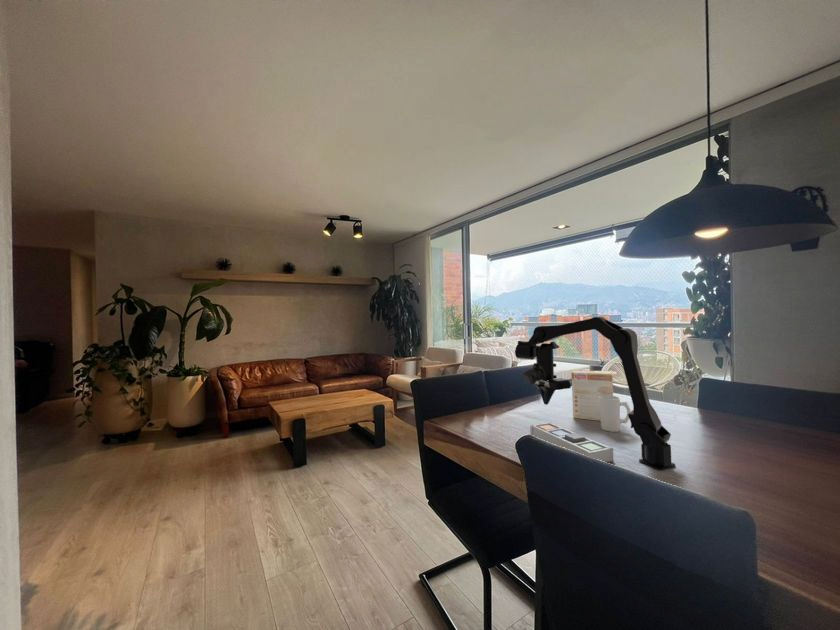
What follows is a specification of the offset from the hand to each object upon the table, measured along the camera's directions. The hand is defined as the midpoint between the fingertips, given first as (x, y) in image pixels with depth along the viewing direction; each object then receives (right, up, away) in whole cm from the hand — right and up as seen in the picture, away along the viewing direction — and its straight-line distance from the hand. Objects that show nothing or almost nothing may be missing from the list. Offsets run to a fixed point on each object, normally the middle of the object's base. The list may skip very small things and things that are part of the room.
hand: (546, 404), depth 123 cm
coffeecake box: (+27, -11, +20) cm, 36 cm away
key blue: (+3, -11, -6) cm, 12 cm away
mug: (+28, -11, +6) cm, 31 cm away
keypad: (+4, -12, -9) cm, 16 cm away
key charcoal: (+5, -9, -12) cm, 16 cm away
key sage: (+7, -10, -19) cm, 22 cm away
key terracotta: (+1, -11, 0) cm, 11 cm away
